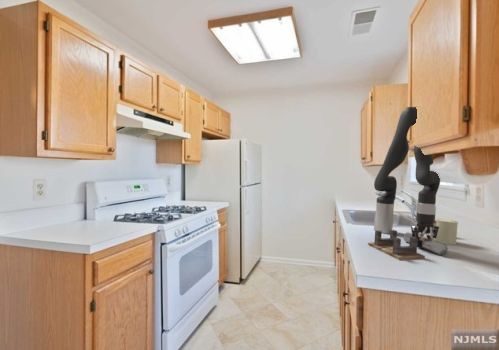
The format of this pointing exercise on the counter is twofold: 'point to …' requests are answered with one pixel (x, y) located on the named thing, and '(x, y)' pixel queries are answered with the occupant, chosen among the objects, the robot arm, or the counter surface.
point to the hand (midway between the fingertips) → (423, 247)
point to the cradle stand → (396, 246)
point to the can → (446, 231)
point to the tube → (429, 245)
